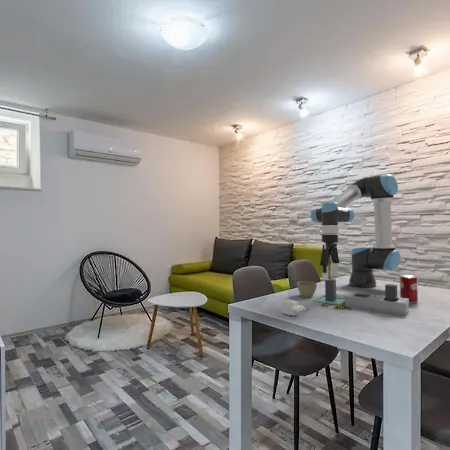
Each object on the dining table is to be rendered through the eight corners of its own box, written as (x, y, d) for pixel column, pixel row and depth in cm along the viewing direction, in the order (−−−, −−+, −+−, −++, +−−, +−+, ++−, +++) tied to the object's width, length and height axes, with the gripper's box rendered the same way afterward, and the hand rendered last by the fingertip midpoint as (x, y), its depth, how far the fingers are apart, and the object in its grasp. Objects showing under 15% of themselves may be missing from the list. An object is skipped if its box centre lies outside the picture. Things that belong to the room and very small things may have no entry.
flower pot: (309, 300, 157) (309, 285, 157) (293, 296, 165) (292, 283, 165) (320, 296, 164) (320, 283, 164) (304, 293, 171) (304, 280, 171)
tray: (322, 296, 164) (322, 294, 164) (348, 300, 156) (348, 298, 156) (313, 301, 153) (312, 300, 153) (340, 305, 146) (340, 303, 146)
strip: (356, 298, 159) (356, 276, 159) (411, 305, 145) (411, 281, 145) (345, 307, 143) (344, 282, 143) (405, 315, 129) (405, 288, 129)
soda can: (398, 301, 151) (398, 276, 151) (402, 299, 157) (402, 274, 157) (415, 304, 146) (415, 278, 146) (419, 301, 152) (419, 276, 152)
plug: (328, 298, 158) (327, 278, 157) (336, 299, 155) (336, 279, 155) (325, 300, 154) (325, 279, 154) (333, 301, 152) (333, 280, 152)
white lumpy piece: (310, 317, 128) (310, 302, 128) (304, 320, 125) (303, 305, 125) (287, 312, 136) (287, 298, 136) (281, 314, 133) (280, 300, 133)
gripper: (330, 233, 167) (330, 274, 167) (312, 234, 147) (313, 280, 147) (345, 233, 162) (345, 275, 162) (329, 234, 142) (329, 282, 142)
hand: (330, 277), depth 154 cm, fingers open, 13 cm apart
